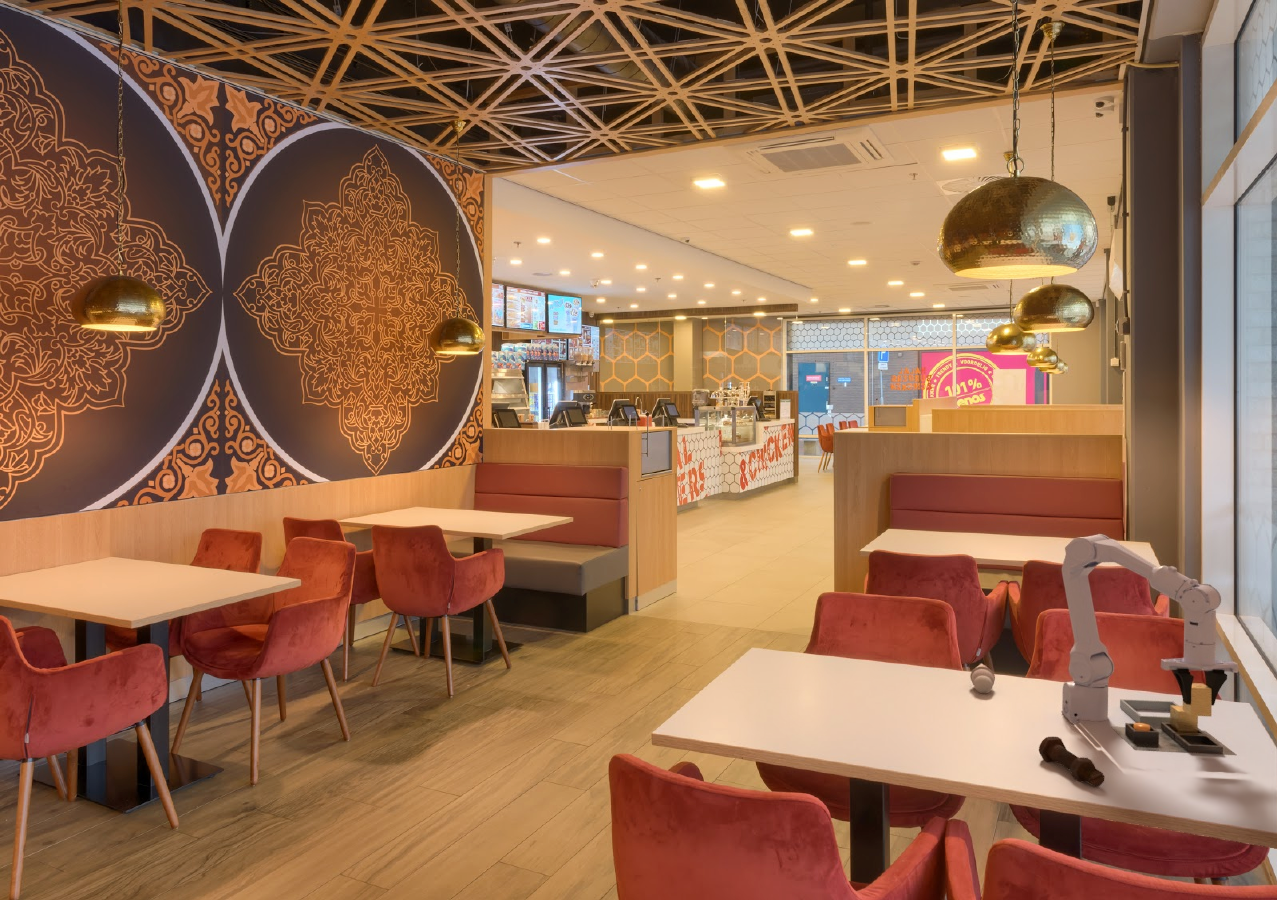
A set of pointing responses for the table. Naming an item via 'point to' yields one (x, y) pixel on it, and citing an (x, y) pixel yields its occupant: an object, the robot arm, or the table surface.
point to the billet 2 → (1182, 720)
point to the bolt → (1070, 761)
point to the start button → (1141, 727)
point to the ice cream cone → (982, 679)
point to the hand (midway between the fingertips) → (1198, 703)
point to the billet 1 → (1199, 700)
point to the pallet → (1171, 740)
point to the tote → (1146, 704)
